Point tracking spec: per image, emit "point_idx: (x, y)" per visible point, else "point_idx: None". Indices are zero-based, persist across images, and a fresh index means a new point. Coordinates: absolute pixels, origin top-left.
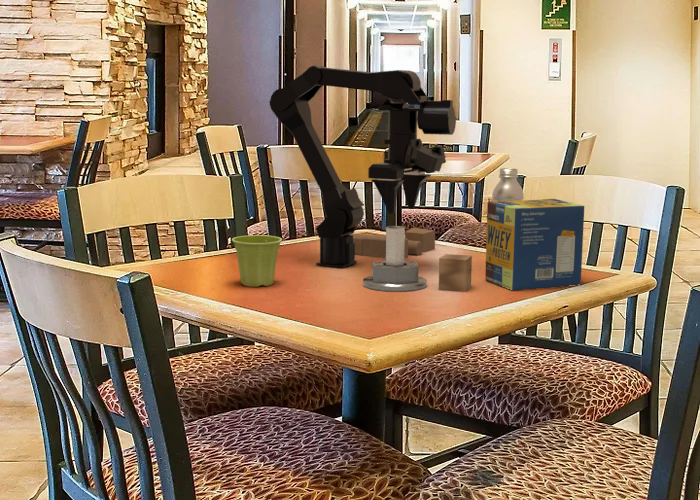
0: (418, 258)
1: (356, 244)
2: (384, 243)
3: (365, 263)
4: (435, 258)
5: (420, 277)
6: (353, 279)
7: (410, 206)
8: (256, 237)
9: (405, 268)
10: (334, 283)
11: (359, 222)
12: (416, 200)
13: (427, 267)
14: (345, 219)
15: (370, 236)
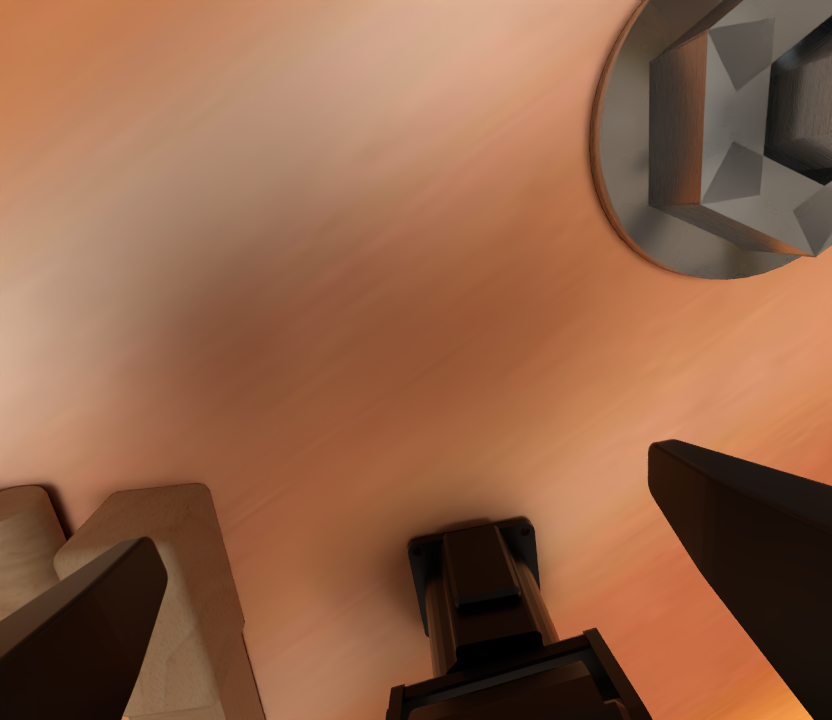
0: (98, 440)
1: (234, 693)
2: (197, 593)
3: (374, 523)
4: (24, 382)
5: (638, 39)
6: (699, 352)
7: (149, 582)
8: None
9: None
10: (805, 357)
11: (430, 712)
12: (20, 609)
13: (254, 269)
14: (649, 718)
15: (172, 698)
